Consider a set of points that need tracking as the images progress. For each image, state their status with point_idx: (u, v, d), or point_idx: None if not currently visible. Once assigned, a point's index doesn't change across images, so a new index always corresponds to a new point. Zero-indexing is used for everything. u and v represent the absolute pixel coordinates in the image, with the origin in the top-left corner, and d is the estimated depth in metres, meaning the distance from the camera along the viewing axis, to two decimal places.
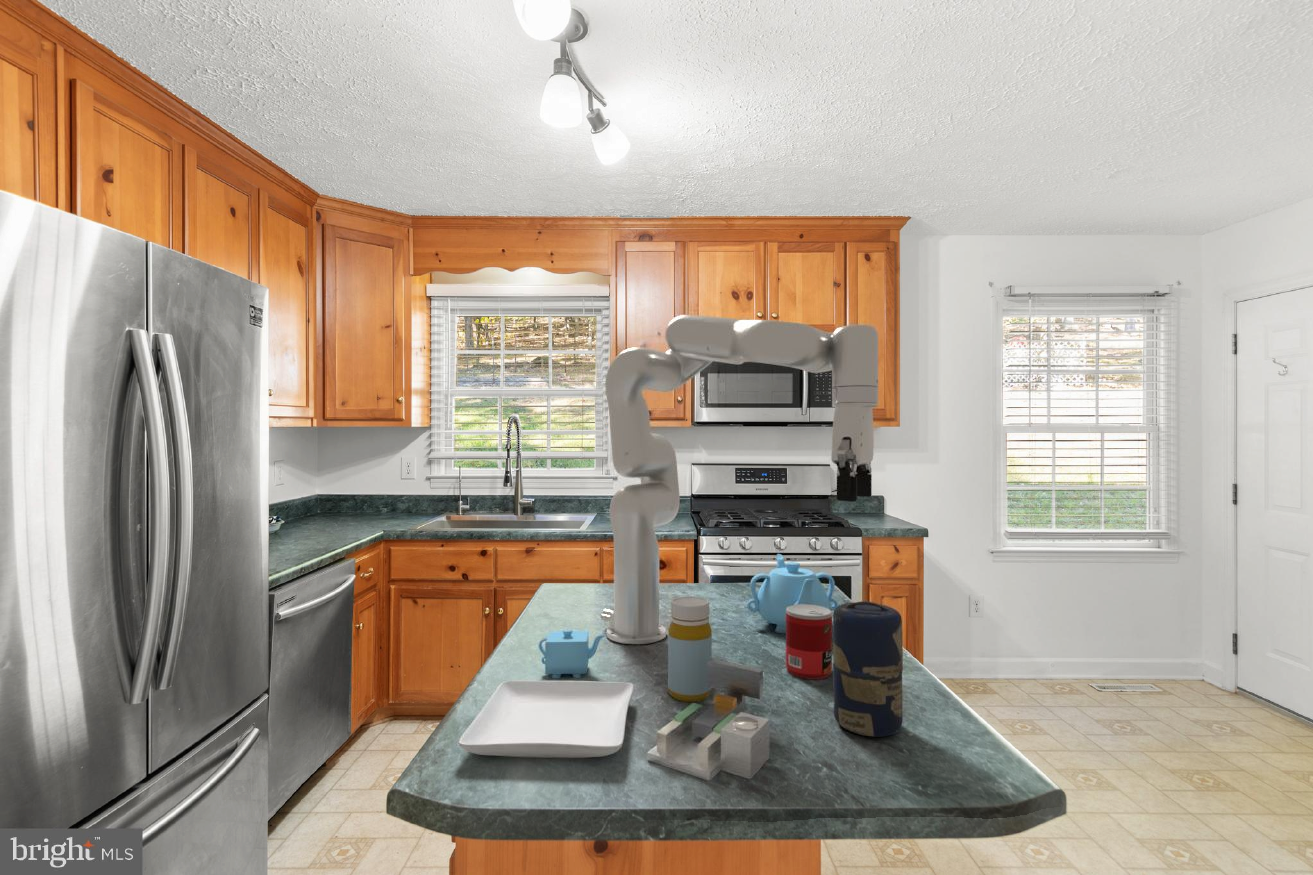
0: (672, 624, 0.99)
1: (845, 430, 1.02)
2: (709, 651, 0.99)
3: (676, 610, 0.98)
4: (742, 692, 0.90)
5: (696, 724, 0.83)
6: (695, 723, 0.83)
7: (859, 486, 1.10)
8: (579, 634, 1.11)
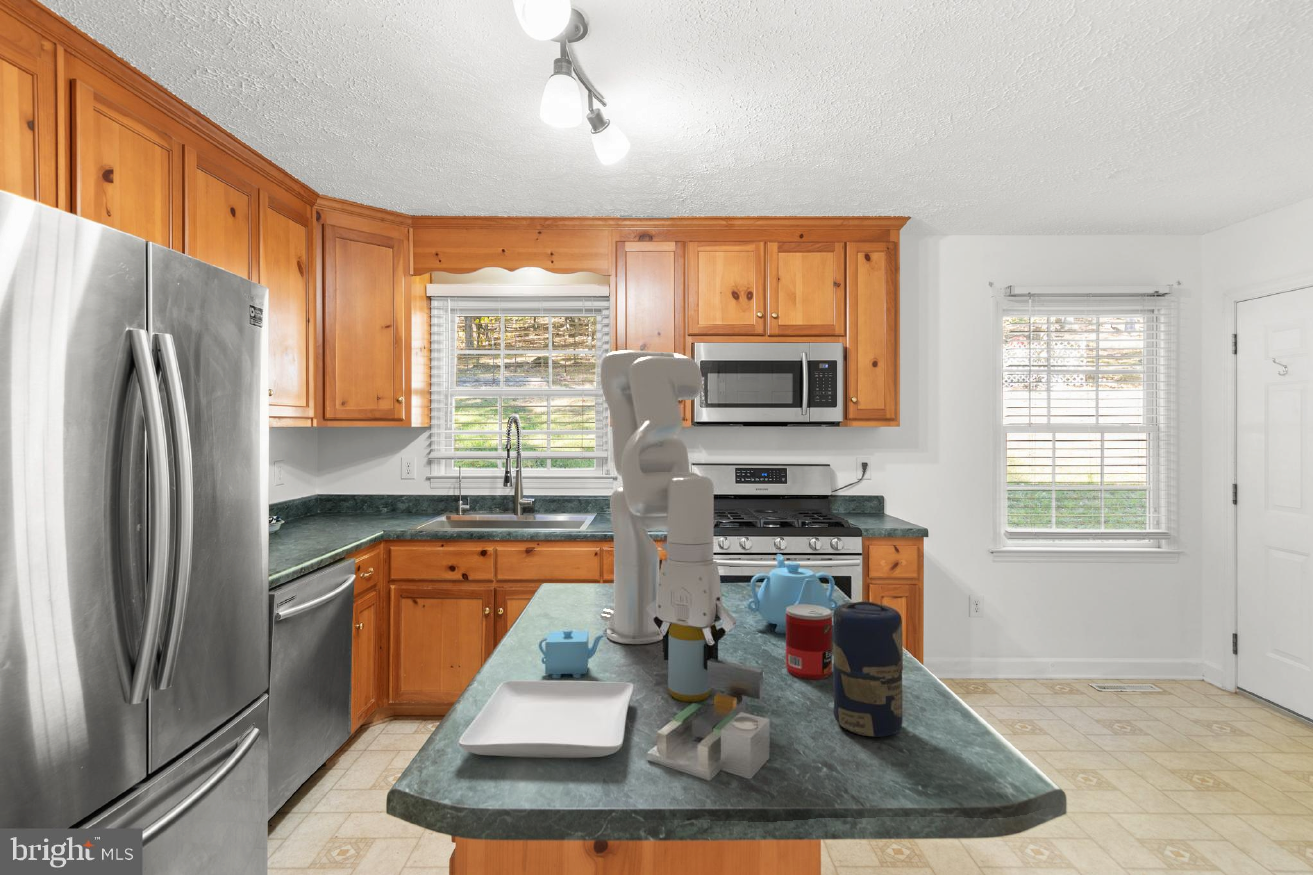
0: (673, 624, 0.99)
1: (717, 590, 0.97)
2: None
3: (676, 610, 0.98)
4: (742, 692, 0.90)
5: (696, 724, 0.83)
6: (695, 723, 0.83)
7: None
8: (579, 634, 1.11)
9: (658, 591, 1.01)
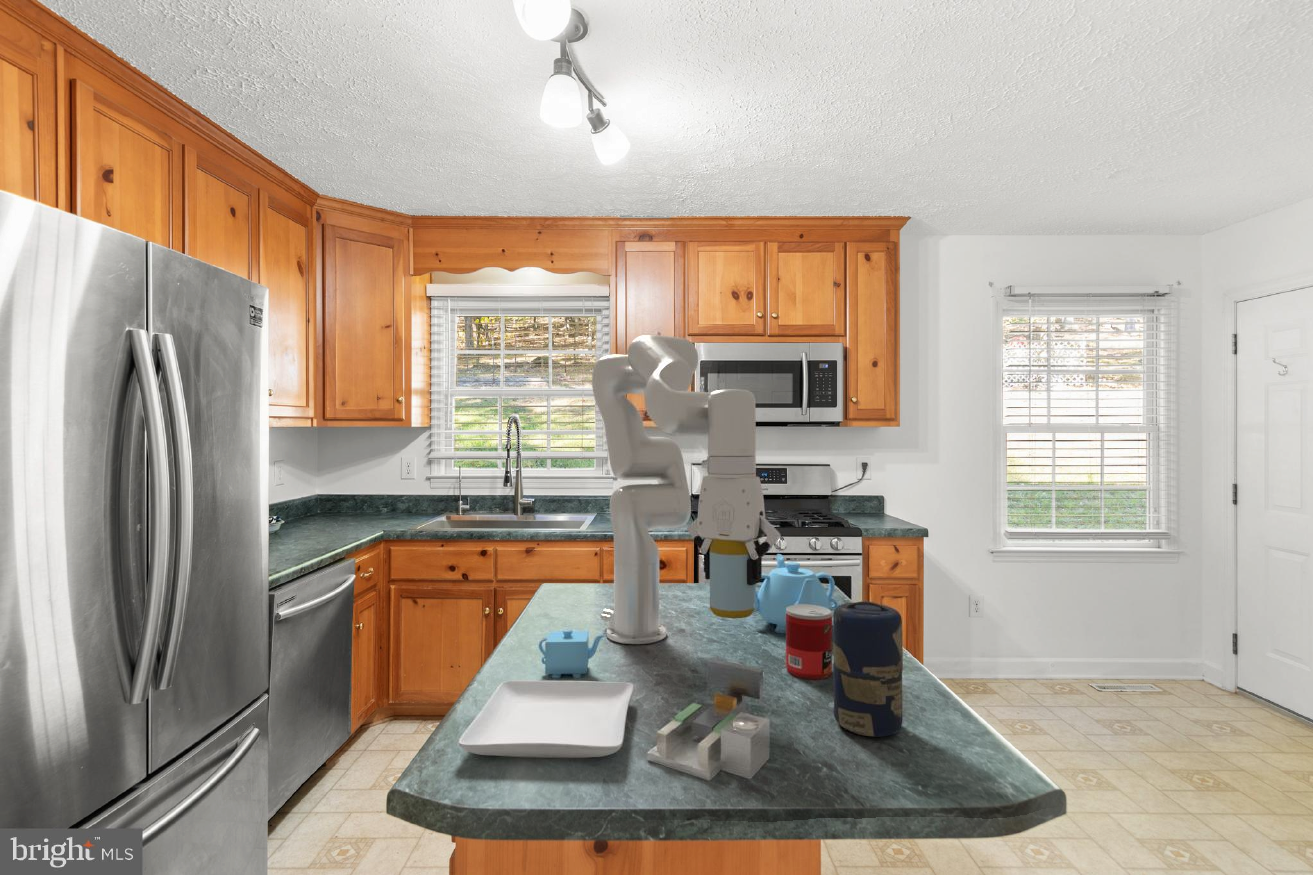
0: (714, 540, 0.97)
1: (760, 504, 0.95)
2: None
3: (718, 525, 0.96)
4: (742, 692, 0.90)
5: (696, 724, 0.83)
6: (695, 723, 0.83)
7: None
8: (579, 634, 1.11)
9: (699, 508, 0.98)
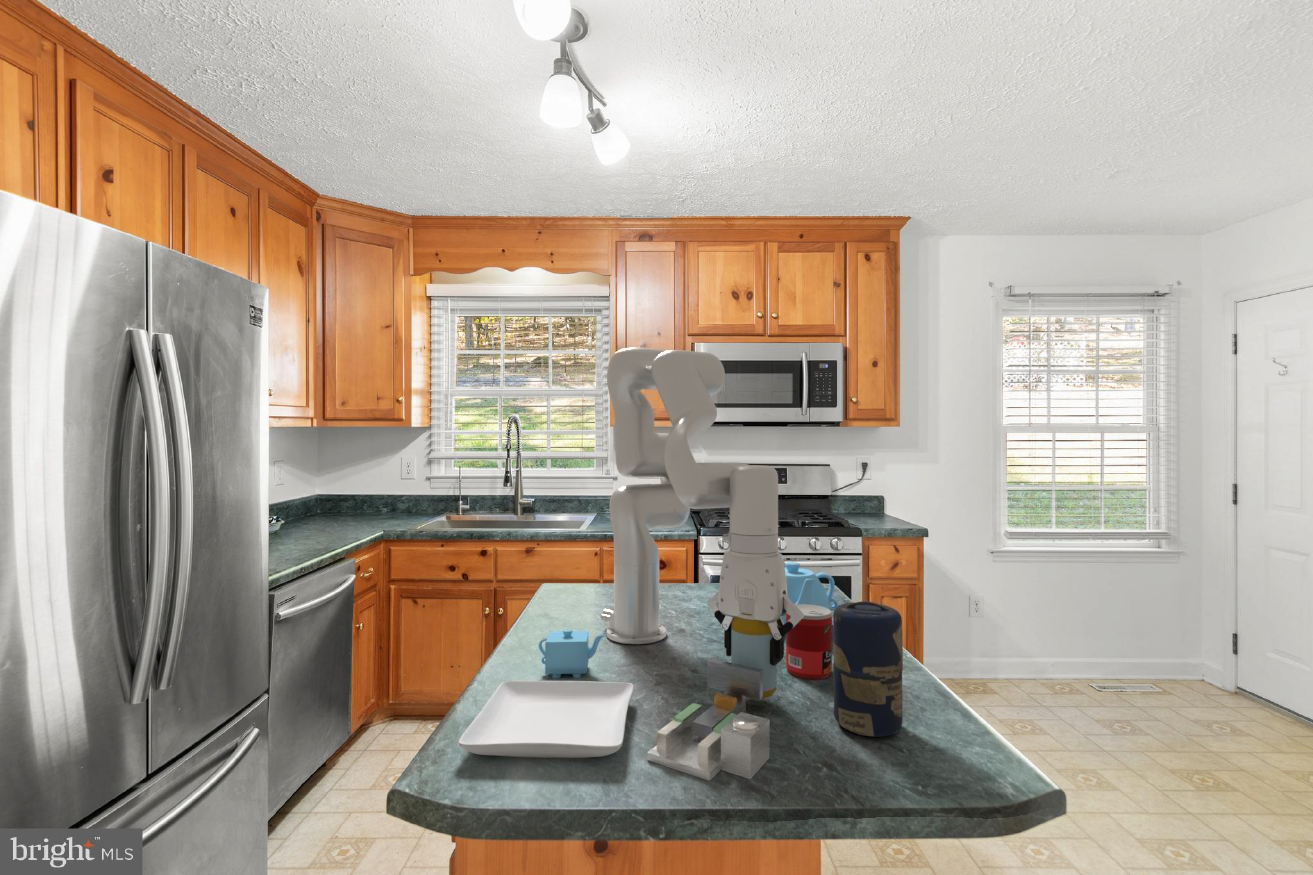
0: (736, 618, 0.96)
1: (783, 583, 0.94)
2: None
3: (741, 604, 0.95)
4: (742, 692, 0.90)
5: (696, 724, 0.83)
6: (695, 723, 0.83)
7: None
8: (579, 634, 1.11)
9: (720, 584, 0.97)
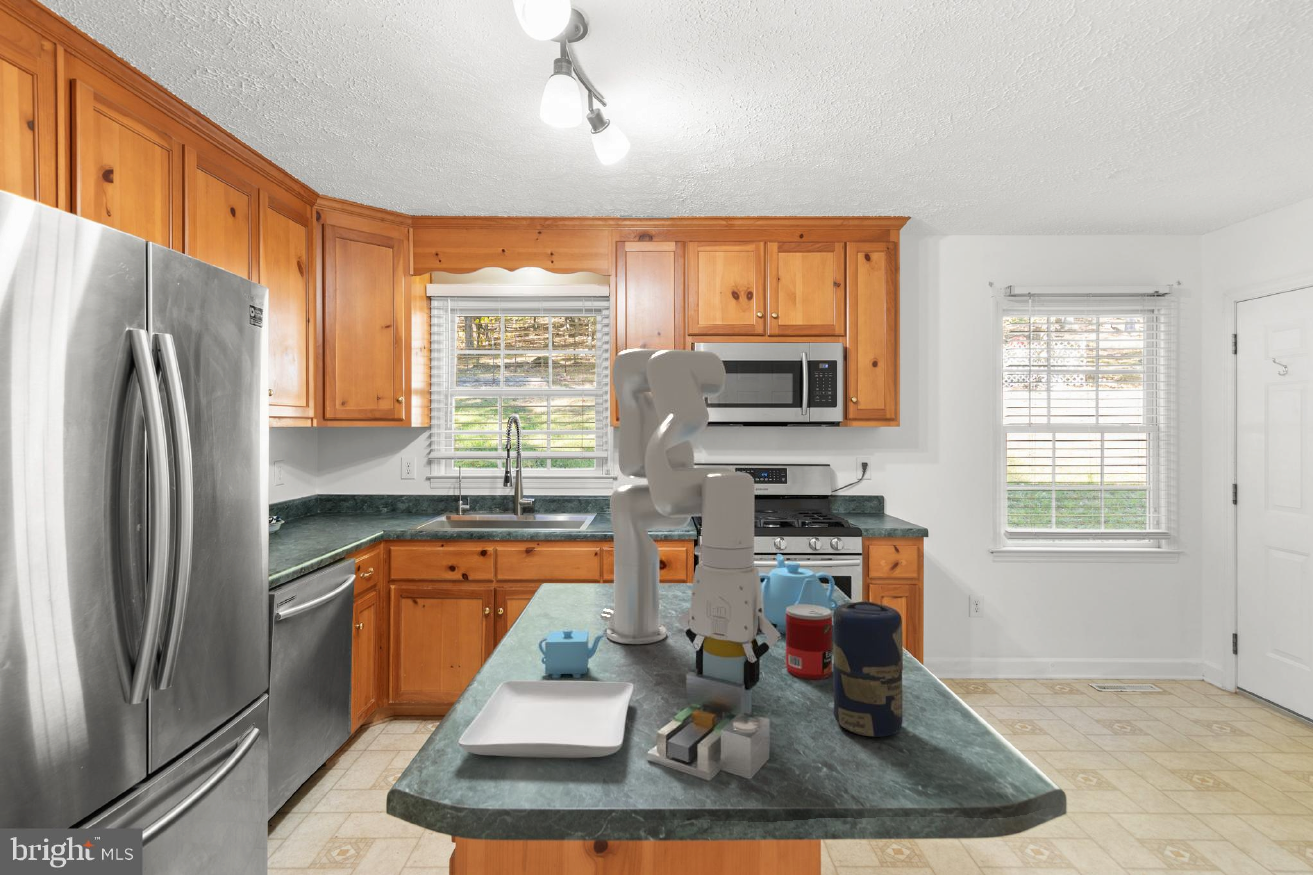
0: (708, 638, 0.88)
1: (759, 601, 0.86)
2: None
3: (713, 623, 0.87)
4: (722, 709, 0.84)
5: (671, 744, 0.78)
6: (670, 743, 0.78)
7: None
8: (579, 634, 1.11)
9: (691, 601, 0.90)
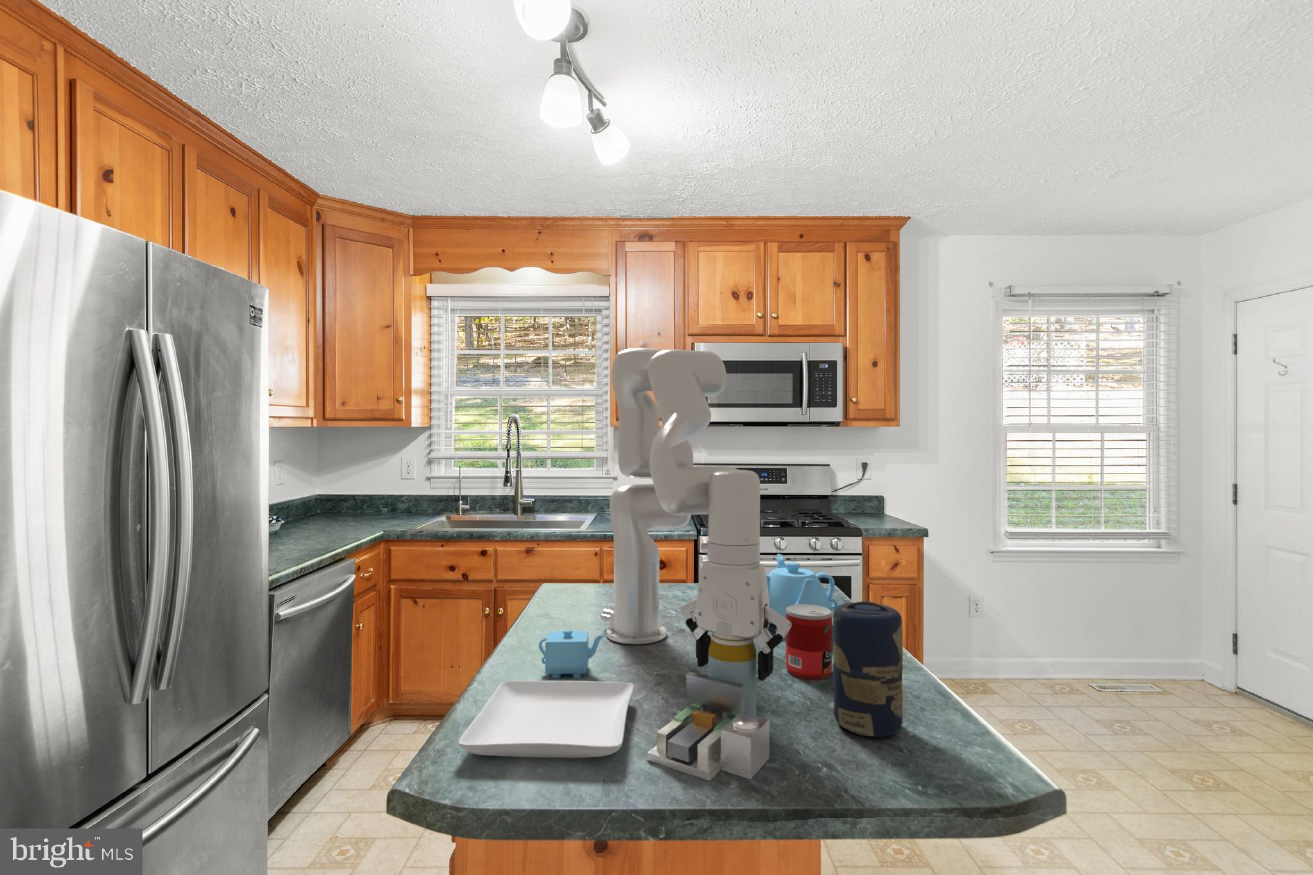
0: (713, 643, 0.90)
1: (764, 596, 0.88)
2: (754, 674, 0.89)
3: (718, 628, 0.89)
4: (722, 709, 0.84)
5: (671, 744, 0.78)
6: (670, 743, 0.78)
7: (705, 653, 0.93)
8: (579, 634, 1.11)
9: (698, 597, 0.91)
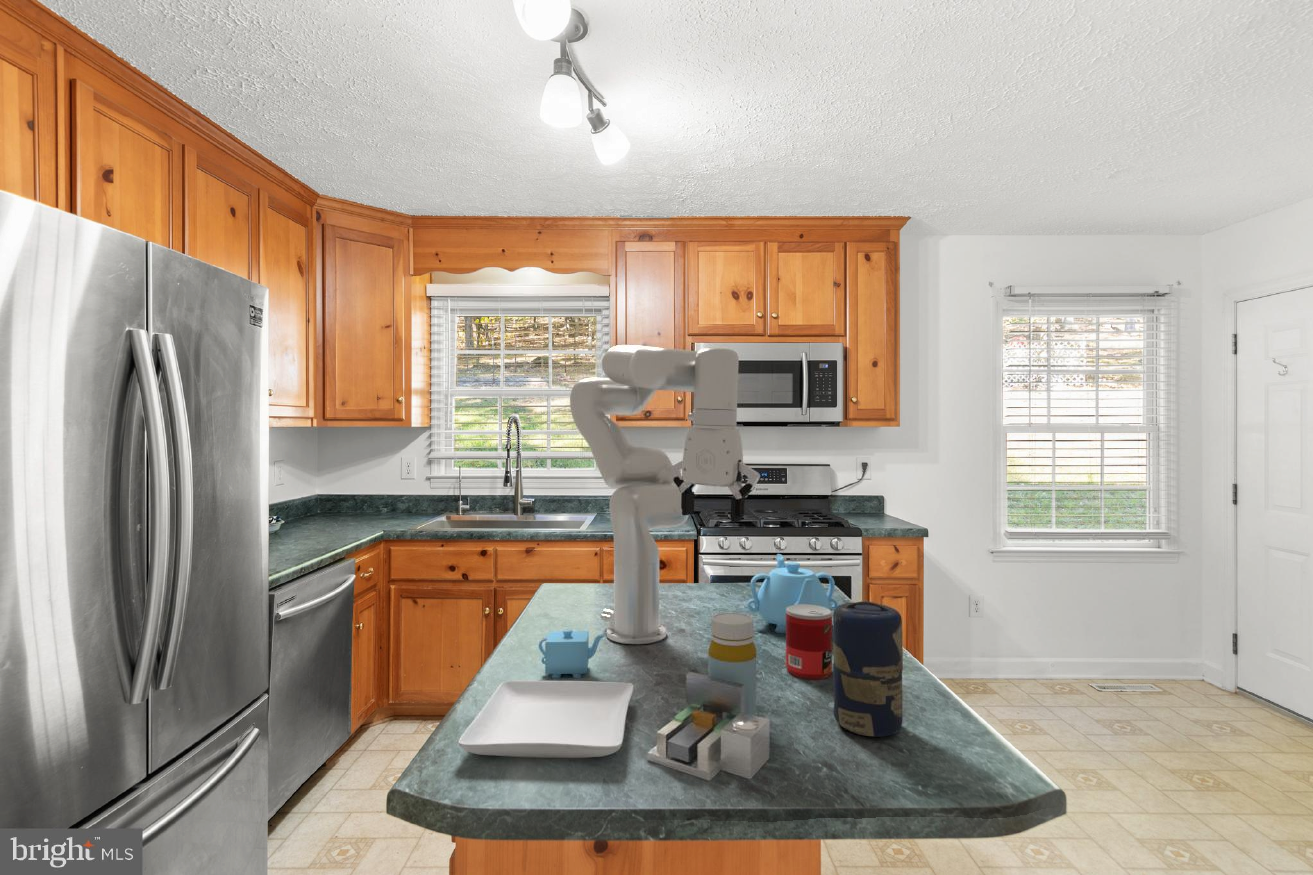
0: (713, 643, 0.90)
1: (738, 453, 1.05)
2: (754, 674, 0.89)
3: (718, 628, 0.89)
4: (722, 709, 0.84)
5: (671, 744, 0.78)
6: (670, 743, 0.78)
7: (689, 505, 1.11)
8: (579, 634, 1.11)
9: (684, 456, 1.09)
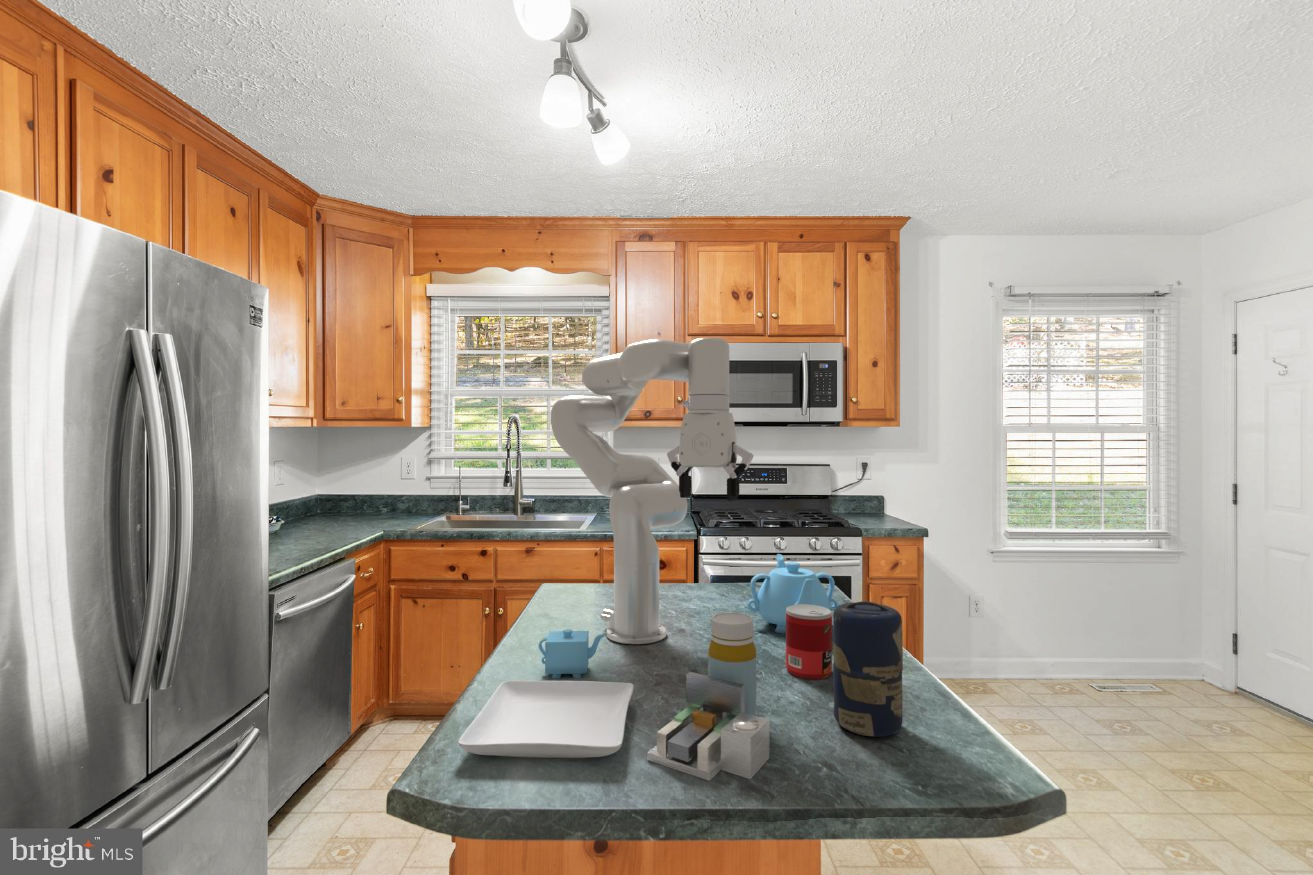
0: (713, 643, 0.90)
1: (732, 435, 1.11)
2: (754, 674, 0.89)
3: (717, 628, 0.89)
4: (722, 709, 0.84)
5: (671, 744, 0.78)
6: (670, 743, 0.78)
7: (686, 488, 1.16)
8: (579, 634, 1.11)
9: (680, 440, 1.15)
